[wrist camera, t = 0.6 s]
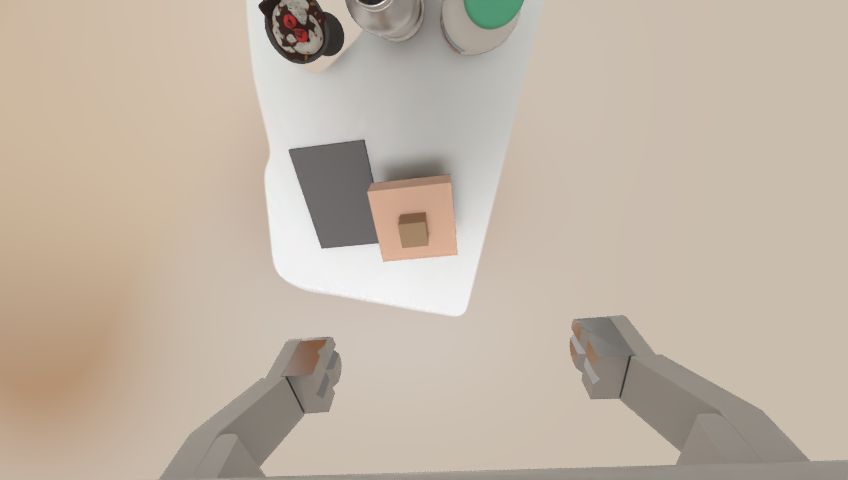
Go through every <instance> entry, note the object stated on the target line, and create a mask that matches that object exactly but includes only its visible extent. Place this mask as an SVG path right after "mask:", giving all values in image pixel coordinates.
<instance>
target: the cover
mask: <svg viewBox="0 0 848 480" xmlns="http://www.w3.org/2000/svg"><path fill="white" fill-rule="evenodd" d="M367 194H368V198H369V202H370V207H371V211H372V215H373V220H374V224H375V228H376V232H377V237H378V241H379V245H380V250H381V254H382V258H383V262H384V261H395V260H406V259H417V258H428V257H440V256H451V255H458V253H457V242H456V231H455V220H454V209H453V198H452V187H451V177H450V174H448V175H440V176H431V177H422V178H413V179H405V180H396V181H387V182H378V183H371V185H370V187H369V189H368V191H367Z"/></svg>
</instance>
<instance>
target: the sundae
mask: <svg viewBox="0 0 848 480" xmlns="http://www.w3.org/2000/svg"><path fill="white" fill-rule="evenodd" d="M259 9H260V10H261V11H262V13H263V14H264V15H265V29H266V32H267V36H268V38H269V40H270V42H271V44H272V45H273V46H274V48H275V49H276V50H277V51H278V52H279V54H281V55H282V56H283V57H284V58H286V59H287V60H289V61H291V62H293V63H298V64H305V63H310V62H312V61H315V60H316V59H318V58H319V57H320V56H321V55H324V56H332V55H335V54H336V53H338V52H339V51H340V50H341V48H342V46H343V43H344V32H343V28H342V26H341V24H340V22H339V21H338V19H337V18H336V17H335V16H333V15H332V14H330V13H327V12H323V11H322V9H321V8H320V6H319V4H318V3H317V1H316V0H263V1H262V2H261V3H260V4H259Z"/></svg>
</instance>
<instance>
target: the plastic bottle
mask: <svg viewBox="0 0 848 480" xmlns="http://www.w3.org/2000/svg"><path fill="white" fill-rule="evenodd" d="M345 1H346V5H347V8H348V10H349V12H350V14H351V16H352V18H353V19H354V20H355V22H356V23H357V24H358V25H359V26H360V27H361V28H363V29H364V30H366V31H367V32H370V33H372V34H377V35H381V36H382V37H384V38H385V39H387V40H389V41H393V42H401V41H405V40H407V39H409V38H411V37H412V36H413V35H414V34H415V33H416V32H417V31H418V29H419V27H420V25H421V23H422V20H423V17H424V1H423V0H345Z"/></svg>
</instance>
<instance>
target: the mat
mask: <svg viewBox="0 0 848 480" xmlns="http://www.w3.org/2000/svg"><path fill="white" fill-rule="evenodd" d="M289 153H290V156H291V159H292V162H293V165H294V168H295V171H296V174H297V177H298V180H299V183H300V186H301V189H302V192H303V195H304V198H305V201H306V204H307V206H308V209H309V212H310V215H311V218H312V221H313V224H314V227H315V230H316V233H317V236H318V239H319V242H320V245H321V248H332V247H343V246H353V245H363V244H374V243H379V241H378V237H377V232H376V228H375V224H374V220H373V215H372V211H371V207H370V202H369V198H368V194H367V191H368V189H369V187H370V185H371V183H373V178H372V174H371V169H370V164H369V160H368V155H367V151H366V146H365V141H364V140H360V141H352V142H344V143H337V144H329V145H321V146H313V147H305V148H298V149H290V150H289Z"/></svg>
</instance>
